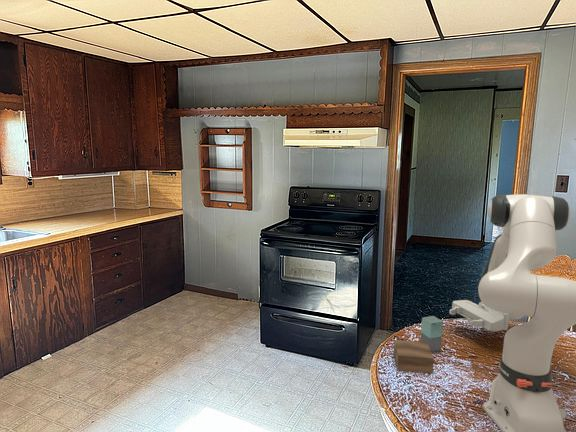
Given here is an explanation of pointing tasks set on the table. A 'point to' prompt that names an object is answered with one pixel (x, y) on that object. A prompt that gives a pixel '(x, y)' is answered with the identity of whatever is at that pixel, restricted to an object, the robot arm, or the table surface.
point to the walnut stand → (413, 356)
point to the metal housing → (432, 332)
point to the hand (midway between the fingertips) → (459, 317)
